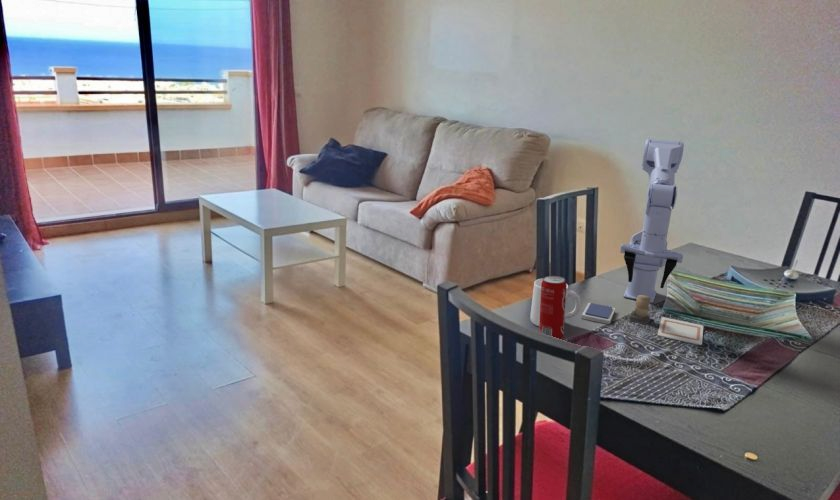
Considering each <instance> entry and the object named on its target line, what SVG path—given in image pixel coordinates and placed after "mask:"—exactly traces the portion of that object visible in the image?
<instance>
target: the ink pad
mask: <svg viewBox="0 0 840 500" xmlns="http://www.w3.org/2000/svg"><path fill="white" fill-rule="evenodd" d="M615 312H616V308H615V307H612V306H608V305H603V304H599V303H593V302H588V303H587V305H586V307H585V309H584V311H582V313H581V319H583V320H588V321H592V322H597V323H601V324H606V325H610V323H611V322H612V319H613V317H614V315H615Z"/></svg>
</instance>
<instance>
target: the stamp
mask: <svg viewBox="0 0 840 500" xmlns="http://www.w3.org/2000/svg"><path fill="white" fill-rule="evenodd" d="M635 300H636V301H635V306H634V310H632V312H631V315H630V317H629V322H634V323H635V322H636V323H639V324H644V325H648V324H649V321H650V318H651V313H649V307H650V303H651V302H650V297H648V296H645V295H638V296H637V299H635Z"/></svg>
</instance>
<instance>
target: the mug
mask: <svg viewBox="0 0 840 500" xmlns="http://www.w3.org/2000/svg"><path fill="white" fill-rule="evenodd" d="M543 278H544V277H543ZM543 278H538V279H536V280H534V283H533V291H532V299H531V307H530V316H529V317H530V321H531V323H532V324H534V325H535V326H537V327H539V321H540V300H541V283H542V281H543ZM566 285H567V287H566V302H567V300H568V299H567V298H569V297H571V298H573V300H574V302H575V306H574V309H573V310H572V311H570V312H565V319H571V318H574V317H576V316H577V315H578V314H579V312H580V310H581V309H582V308H581V307H582V300H581V297H580V296H579V294H578V293H577V292H575V291H573V290H571V289H570V290H569V285H568V283H566ZM566 307H567V303H566V304H565V309H566Z"/></svg>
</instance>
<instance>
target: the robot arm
mask: <svg viewBox="0 0 840 500" xmlns="http://www.w3.org/2000/svg"><path fill="white" fill-rule="evenodd" d="M684 145H685V144H684V142H683V141H682V140H680V141H679V140H678V141H677V140H676V141H675V140H665V139H656V138H647V139H645V143H644V148H643V154H642V163H641V167H642V170H643V171H644V172H645V173H647V175H648V187H647V190H646V191H647V192H646V198H645V209H644V215H643V223H642V228H641V230H640V231H639V232H636V233H635V234H633V235H632V236H631V237H630V241H629V243H622V244H621V246H620V251H619V252H620V254H624V255H623V259H624V262H625V265H626V268H627V277H628V278H627V279H628V281H627V286H626V288H625V292H624V293H623V298H627V299H631V300H636V299H637V296H638V295H645V296H648V297H650V302H649V303H654V301H655V297H656V295H657V290H655V289H656V284H657V283H656V282H657V278H658V273H659V270H660V269H662V268H663V267H664V270H663V276H662V279H661V283H660V289H663V288H664V286H665V283H666V282H667V279H668V278H669V276H670V275H671V273H672V272H673V270H674V269H675V268H676V267H677V263H679V264H682V263H683V259H684V258H683V257H684V253H683V252H677V251H673V250H671V249H670V250H669V249H668V241H667V237H668V232H669V227H670V221H671V216H672V210H674V208H675V206H676V203H677V196H678V187H677V184H676V183H675V177H676V175H675V174H677V173H678V172H677V171H678V170H679V167H680V165H681V162H682V159H683V153H684V147H685V146H684Z"/></svg>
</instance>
